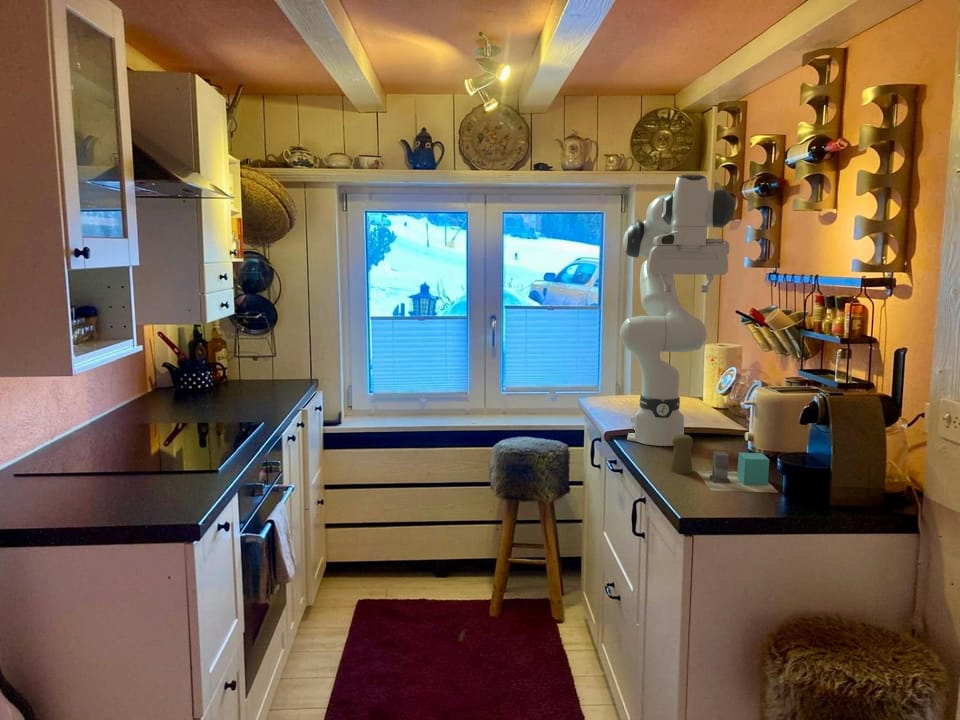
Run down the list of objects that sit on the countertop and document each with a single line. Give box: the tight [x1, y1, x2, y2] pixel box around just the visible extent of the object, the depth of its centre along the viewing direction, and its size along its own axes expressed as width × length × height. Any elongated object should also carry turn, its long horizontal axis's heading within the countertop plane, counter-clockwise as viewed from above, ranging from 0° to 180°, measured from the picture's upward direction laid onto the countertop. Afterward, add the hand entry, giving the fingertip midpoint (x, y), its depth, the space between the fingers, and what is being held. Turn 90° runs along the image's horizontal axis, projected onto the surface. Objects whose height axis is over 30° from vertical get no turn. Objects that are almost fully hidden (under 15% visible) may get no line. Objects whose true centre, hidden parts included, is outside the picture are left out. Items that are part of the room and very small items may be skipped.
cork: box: [669, 434, 694, 475], centre depth 191 cm, size 6×6×11 cm
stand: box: [696, 451, 779, 494], centre depth 183 cm, size 16×16×8 cm
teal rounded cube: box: [736, 452, 770, 486], centre depth 182 cm, size 6×6×7 cm
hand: (686, 292), depth 190 cm, fingers open, 8 cm apart
